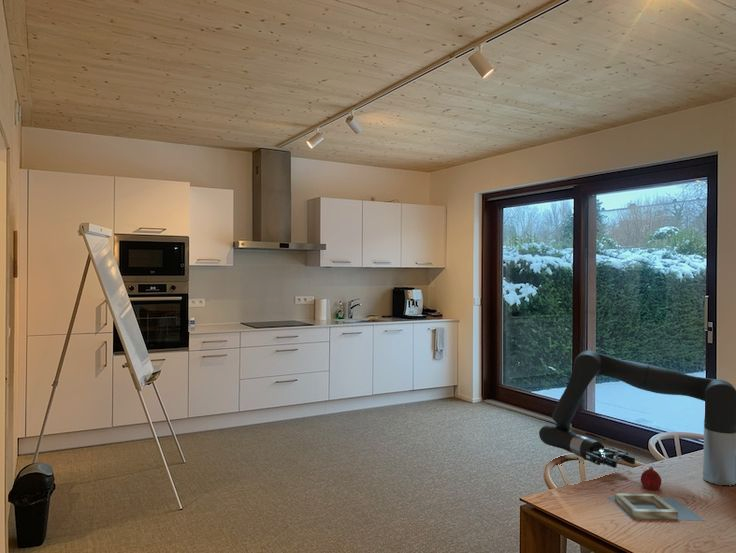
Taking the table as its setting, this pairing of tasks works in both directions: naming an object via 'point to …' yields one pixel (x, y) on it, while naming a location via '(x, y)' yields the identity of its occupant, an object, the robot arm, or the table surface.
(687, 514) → the build board
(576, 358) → the robot arm
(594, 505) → the table surface
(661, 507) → the square frame
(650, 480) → the onion
